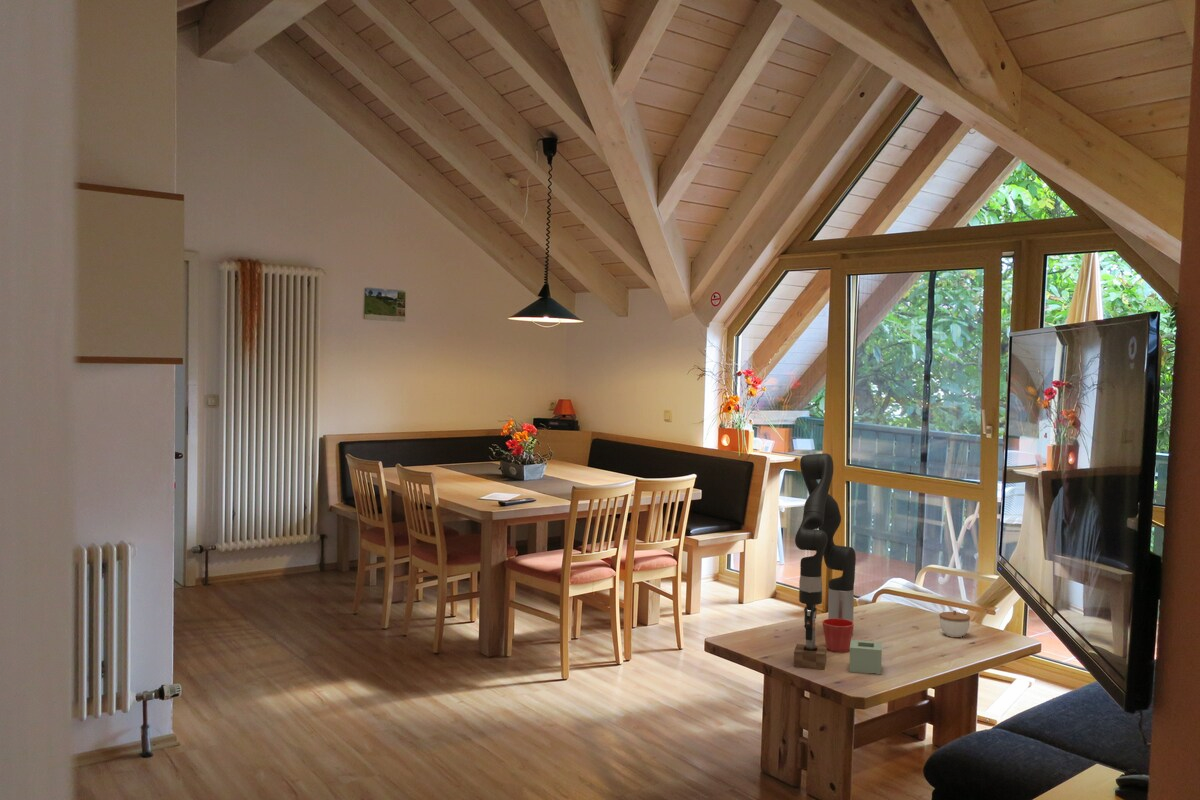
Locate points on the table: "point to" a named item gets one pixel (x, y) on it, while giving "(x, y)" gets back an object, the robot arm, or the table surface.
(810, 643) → the pin
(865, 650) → the block
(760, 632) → the table surface
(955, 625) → the lidded jar
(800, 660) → the mount
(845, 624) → the flower pot
